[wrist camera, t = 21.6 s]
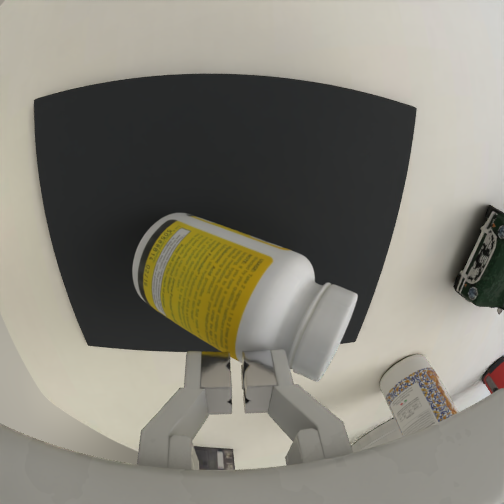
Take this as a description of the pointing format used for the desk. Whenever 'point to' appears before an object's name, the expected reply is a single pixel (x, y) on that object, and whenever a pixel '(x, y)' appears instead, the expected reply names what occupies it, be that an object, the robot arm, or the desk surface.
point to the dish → (378, 436)
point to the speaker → (495, 376)
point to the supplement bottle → (241, 292)
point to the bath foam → (416, 395)
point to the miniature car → (485, 266)
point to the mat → (216, 184)
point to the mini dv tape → (215, 458)
